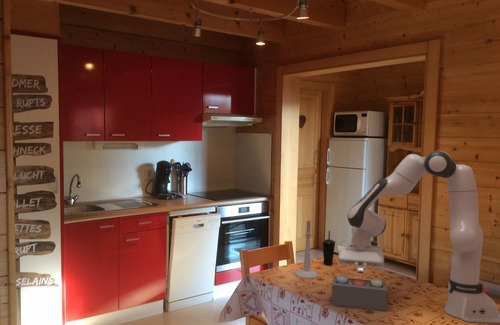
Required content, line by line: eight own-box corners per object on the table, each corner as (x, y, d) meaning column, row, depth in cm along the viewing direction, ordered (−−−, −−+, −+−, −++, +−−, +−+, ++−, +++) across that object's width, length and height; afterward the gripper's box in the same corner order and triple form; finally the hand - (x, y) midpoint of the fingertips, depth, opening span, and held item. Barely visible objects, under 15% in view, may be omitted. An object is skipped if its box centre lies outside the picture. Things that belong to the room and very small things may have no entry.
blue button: (347, 283, 195) (347, 276, 195) (347, 287, 191) (347, 279, 191) (336, 282, 197) (336, 275, 196) (336, 285, 192) (336, 278, 192)
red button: (364, 288, 194) (364, 280, 194) (364, 291, 189) (364, 283, 189) (353, 287, 195) (353, 279, 195) (353, 290, 190) (353, 282, 190)
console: (384, 301, 195) (384, 281, 195) (385, 311, 184) (386, 290, 183) (332, 295, 201) (333, 276, 200) (331, 304, 189) (332, 284, 189)
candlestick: (293, 271, 237) (295, 217, 236) (317, 272, 237) (319, 218, 235) (295, 278, 224) (297, 221, 223) (320, 279, 224) (322, 222, 222)
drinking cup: (330, 262, 256) (331, 229, 255) (337, 265, 249) (338, 231, 248) (319, 263, 254) (320, 229, 253) (325, 266, 247) (327, 232, 246)
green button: (381, 287, 192) (381, 279, 192) (382, 290, 187) (382, 283, 187) (370, 286, 193) (370, 278, 193) (370, 289, 188) (371, 281, 188)
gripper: (338, 240, 200) (336, 266, 191) (383, 243, 196) (384, 271, 187) (338, 247, 205) (336, 273, 196) (382, 251, 200) (383, 278, 191)
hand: (360, 272), depth 191 cm, fingers closed
